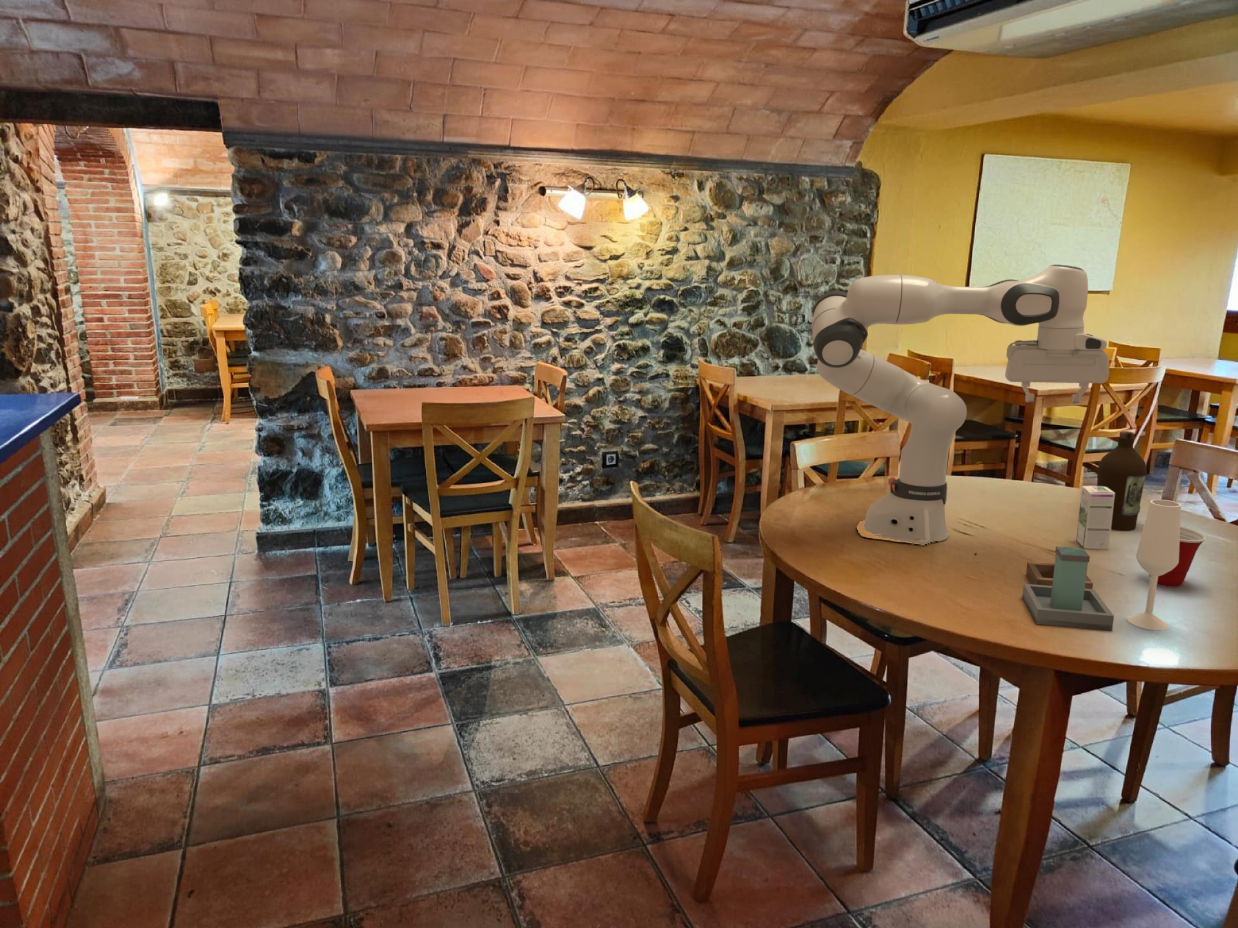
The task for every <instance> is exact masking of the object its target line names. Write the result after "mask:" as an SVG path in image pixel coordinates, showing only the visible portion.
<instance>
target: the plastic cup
mask: <svg viewBox="0 0 1238 928" xmlns="http://www.w3.org/2000/svg"><path fill="white" fill-rule="evenodd" d="M1206 539H1207V536H1206V535H1205V534H1204V533H1202V532H1200V531H1198V530H1195V529H1192V528H1191V527H1190V528H1189V527H1188V526H1187V527H1186V526H1182V525H1180V542H1179V563H1178V565H1177V566H1176V567H1175V568H1174V569H1172V570H1171V571H1169V572H1167V573H1165V574H1163V575H1161V576H1158V581H1157V585H1159V586H1163V587H1167V588H1168V587H1169V588H1170V587H1171V588H1179V587H1182V586H1183V584H1184V582H1185V579H1186V578H1187V573H1188V572H1189V571H1190V568H1191V565H1192V563H1193V561H1194V559H1195V556H1196V553H1197V551H1198V549H1199V548H1200V546H1201V544H1202V543H1203V542H1205V540H1206ZM1149 577H1151V575H1150V574H1149Z"/></svg>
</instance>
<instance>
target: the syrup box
mask: <svg viewBox="0 0 1238 928" xmlns="http://www.w3.org/2000/svg"><path fill="white" fill-rule="evenodd" d="M1114 498H1115V493H1114V492H1113V491H1112V490H1110V489H1109V488H1107V487H1105V486H1097V485H1082V486H1081V493H1080V501H1079V502H1080V503H1079V510H1078V511H1079V512H1078V520H1077V527H1076V528H1077V529H1076V538H1075V539H1076V540H1075V541H1076V542H1077V543H1078V544H1079V546H1081V548H1083V549H1086V550H1106V551H1107V550H1109V547H1110V540H1111V533H1112V530H1111V524H1112V515H1113V506H1114Z"/></svg>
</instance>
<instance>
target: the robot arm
mask: <svg viewBox="0 0 1238 928" xmlns="http://www.w3.org/2000/svg"><path fill="white" fill-rule="evenodd" d="M1088 291H1089V279H1088V275H1087V272H1086V271H1085V270H1084V269H1083V268H1081V267H1077V266H1074V265H1067V264H1066V265H1064V264H1051V265H1049V266H1047V267H1046V268H1045V269H1044V270H1041V272H1038V273H1037V274H1035V275H1031V276H1030V277H1028V278H1024V279H1022V280H1018V279H1013V278H1012V279H1011V278H1010V279H1003V280H1001V281H997V282H995V283H992V284H990V285H987V286H953V285H952V286H951V285H945V284H943V283H939V282H938V281H935V280H934V279H932V278H928V277H925V276H924V277H923V276H920V275H919V276H918V275H910V274H881V275H879V274H878V275H872V276H871V275H870V276H863V277H860V278H857V279H856V280H854V281H853V282H852V283H851V284H850V286H849V288H848V290H847V292H845V291H842V290H831V291H828V292H825V293H823V294H822V295H821V296H820V297H818V299H816V302H815V303H814V304H815V305H814V306H813V309H812V320H811V321H812V322H811V334H812V338H813V340H812V341H813V345H812V346H813V350H814V354H815V355H816V357H817V364H816V370H817V373H818V375H819V376H820V377H821V378H822V379H823V380H825V381H826V382H828V384H830V385H832V386H834V387H835V388H836V389H838V390H839V391H842V392H843V393H846V394H848V395H850V396H851V397H854V398H856V399H858V400H860V401H863V402H864V403H867V404H869V405H871V406H872V407H873V406H874V407H875V408H877V409H879V410H881V411H884V412H886V413H888V414H890V415H893V416H894V417H896V418H899V419H901V420H903V421H905V422H907V423H908V424H911V428H910V433H909V435H908V439H907V441H906V443H905V445H904V446H903V447H902V449H901V451H900V463H899V465H900V466H899V478H897V479H896V478H895V477H894V476H893V477H891V476H890V477H889V478H888V479H887V481H888V482H887V483H888V485H889V486H890V489H889V490H890V492H889V493H888V494H886V495H884V496H883V497H881V498H879V499H878V500H876V501H873V502H872V503H871V504H870V506H869V507H868V509H867V512H866V516H865V518H864V519H865V524H864V527H865V530H866V531H868V532H871V533H872V534H881V535H875V536H879V537H880V536H881V537H883V538H890V539H894V540H901V541H908V542H912V543H919V544H927V543H929V544H931V543H930V542H932V541H938V542H943V541H945V540H946V539H948V538H949V534H948V529H947V523H946V514H945V513H946V511H945V506H946V505H947V504H946V502H947V499H948V483H947V469H948V460H949V453H950V448H951V446H952V442H953V439H954V436H955V434H956V431H958V429H959V428H961V427H962V426H963V424H964V423H965V421H966V418H967V414H968V411H967V410H968V409H967V405H966V402H964V400H963V398H962V397H960V396H959V395H958V394H957V393H956V392H954V391H953V390H952V389H950V388H946V387H943V386H940V385H937V384H933V383H931V382H928V381H926V380H923V379H921V378H920V377H918V376H916V375H914V374H912V373H910V372H908V371H907V370H904V369H903V368H901V367H899V366H897V365H896V364H893V363H891V362H889V361H887V360H885V359H883V358H881V357H878V356H876V355H874V354H872V353H870V352H868V351H866V350H863V349H862V347H863V346H864V345H863V344H864V343H865V341H866V339H867V337H869V334H868V331H867V329H868V328H869V327H871V326H873V325H879V324H880V325H881V324H882V325H883V324H885V325H904V326H905V325H915V324H917V325H918V324H922V323H927V322H929V321H930V320H932V319H934V318H935V317H939V316H942V315H951V314H952V315H980V316H984V317H987V318H988V319H990V320H992V321H994V322H997V323H1000V324H1007V325H1012V326H1015V327H1024V326H1025V327H1026V326H1029V325H1033V324H1038V328H1037V336H1036V340H1034V339H1031V340H1022V339H1021V340H1020V339H1018V340H1015V341H1014V342H1010V343H1009V345H1008V346H1007V348H1006V357H1007V360H1008V361H1007V364H1006V368H1005V375H1004V376H1005V379H1006V380H1007V381H1008V382H1010V383H1021V386H1020V387H1022V389H1023V391H1024V393H1025V399H1024V400H1025V402H1026V403H1034V402H1035V394H1034V393H1031V392H1030V390H1029V388H1030V387H1031V383H1054V384H1055V383H1057V384H1058V383H1060V384H1063V383H1065V384H1078V387H1079V390H1077V393H1075V394H1073V393H1072V394H1071V403H1072V404H1081V403H1082V398H1083V397H1082V396H1084V395H1085V393H1086V392H1087V391H1088V389H1089V385H1090V384H1104V383H1106V382H1107V380H1109V376H1110V375H1109V374H1110V359H1109V355H1108V353H1107V352H1106V351H1105V350H1106V348H1107V346H1108V342H1107V340H1105V339H1104V338H1100V337H1098V336H1094V335H1093V334H1089V333H1085V322H1084V316H1085V315H1084V314H1085V312H1086V308H1087V305H1088V297H1089V296H1088V294H1089V292H1088ZM932 543H933V542H932ZM927 545H928V544H927Z"/></svg>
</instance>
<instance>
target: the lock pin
mask: <svg viewBox="0 0 1238 928" xmlns="http://www.w3.org/2000/svg"><path fill="white" fill-rule="evenodd" d="M1054 550H1055V559H1054V564H1055V567H1054V575H1053V584H1052V592H1051V600H1050V603H1051V605H1052V607H1053V608H1054V609H1063V610H1074V611H1082V605H1083V597H1084V590H1085V582H1086V575H1087V574H1088V565H1089V563H1090V558H1091V556H1090V555H1089V554H1088V552H1087V551H1086V550H1085V548H1083V547H1072V546H1071V547H1069V546H1055V549H1054Z"/></svg>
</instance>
